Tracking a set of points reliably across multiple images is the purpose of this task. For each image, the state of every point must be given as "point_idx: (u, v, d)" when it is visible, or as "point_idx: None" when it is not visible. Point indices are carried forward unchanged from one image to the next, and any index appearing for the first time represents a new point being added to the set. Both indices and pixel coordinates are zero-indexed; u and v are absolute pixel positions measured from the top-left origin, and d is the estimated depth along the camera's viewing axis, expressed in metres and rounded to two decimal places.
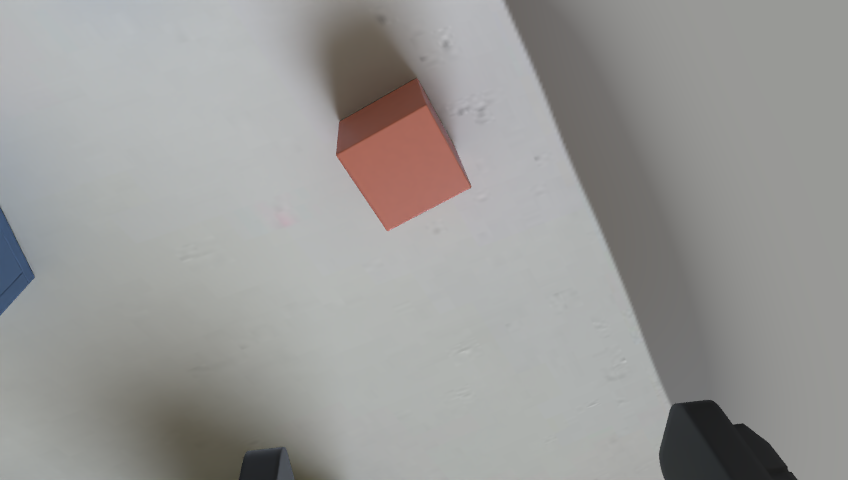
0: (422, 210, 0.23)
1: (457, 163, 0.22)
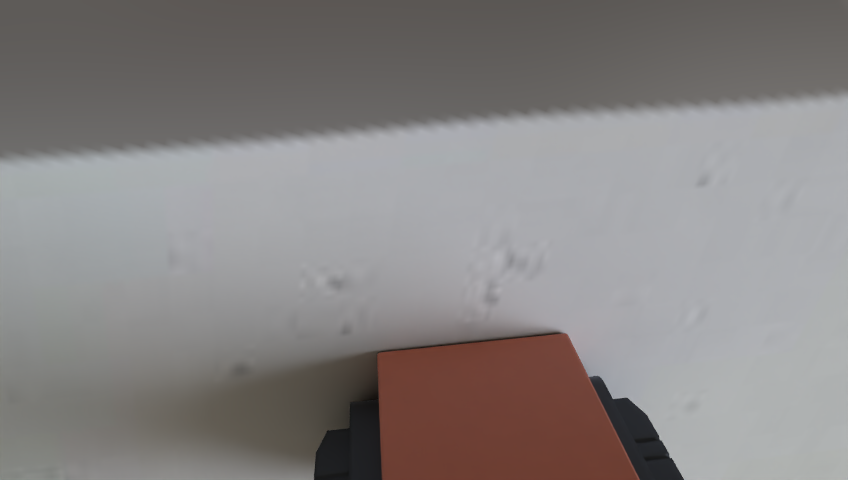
0: None
1: None
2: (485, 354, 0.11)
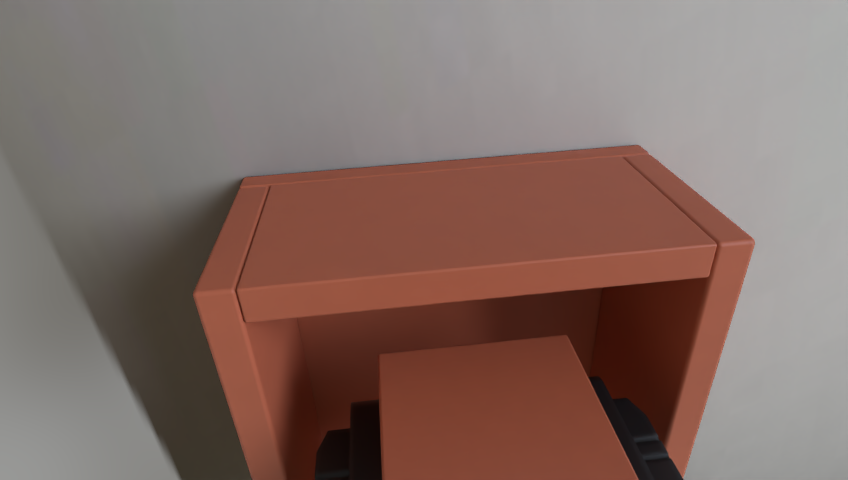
0: None
1: None
2: (485, 355, 0.11)
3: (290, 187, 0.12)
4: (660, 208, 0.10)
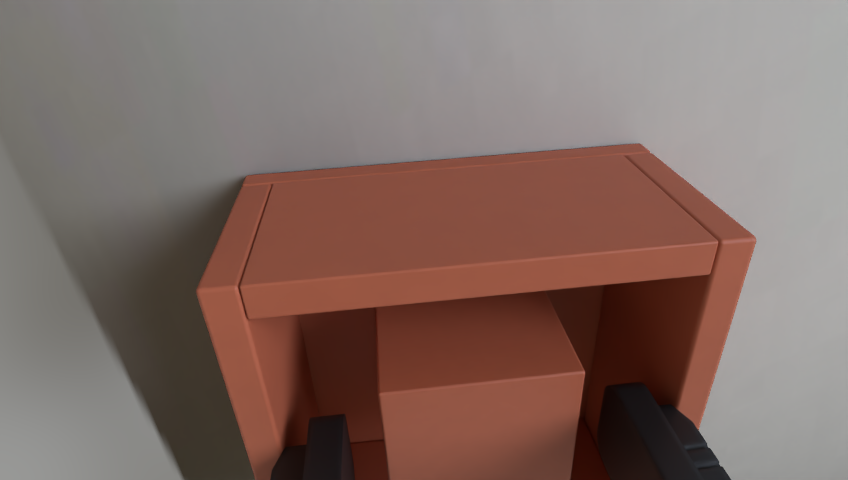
0: (569, 449, 0.12)
1: (521, 379, 0.10)
2: None
3: (293, 185, 0.12)
4: (662, 206, 0.10)
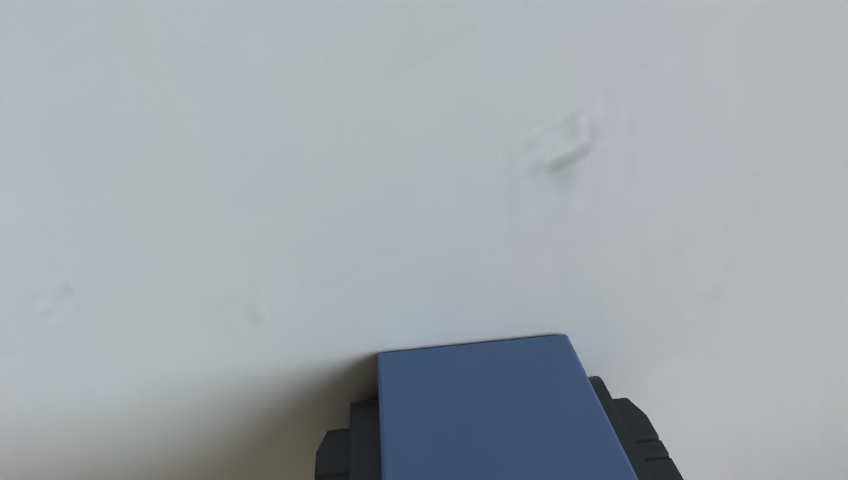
0: None
1: None
2: None
3: None
4: None
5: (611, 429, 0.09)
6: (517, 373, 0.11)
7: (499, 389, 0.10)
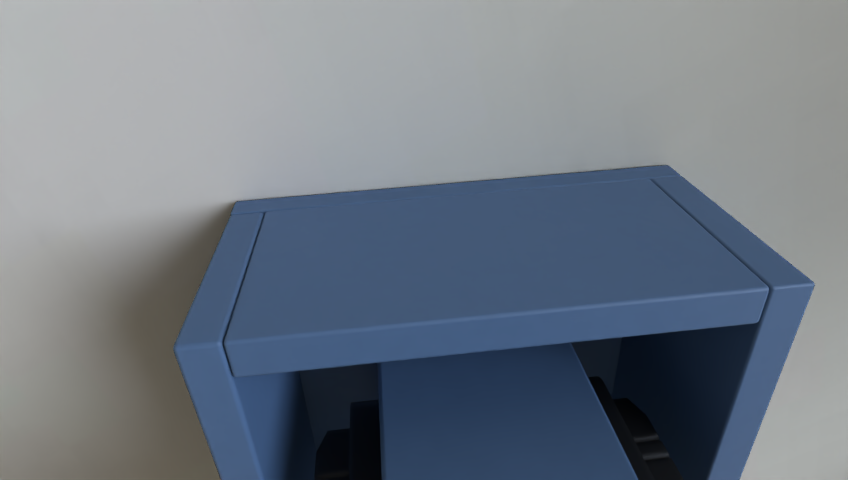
0: None
1: None
2: None
3: None
4: None
5: (611, 429, 0.09)
6: (517, 373, 0.11)
7: (498, 389, 0.10)
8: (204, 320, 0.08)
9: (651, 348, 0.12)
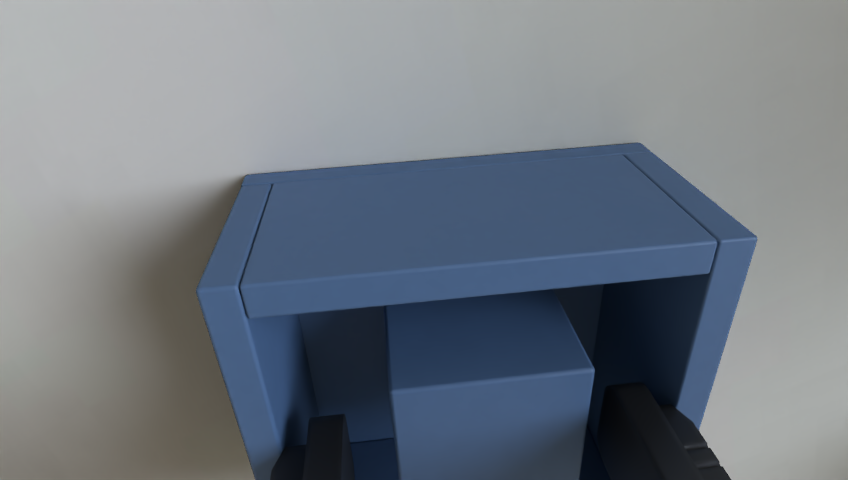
0: None
1: None
2: None
3: None
4: None
5: (568, 321, 0.12)
6: None
7: (480, 297, 0.13)
8: (222, 269, 0.09)
9: (625, 311, 0.13)
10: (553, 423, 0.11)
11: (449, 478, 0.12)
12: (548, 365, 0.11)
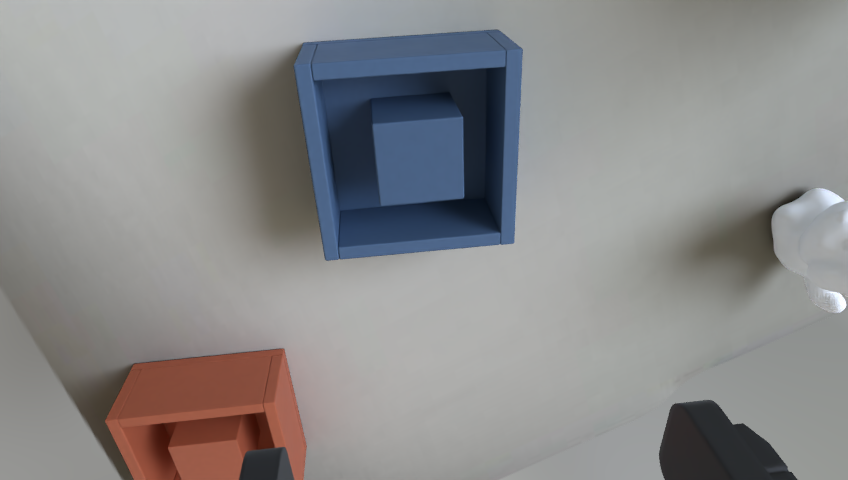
0: None
1: (215, 442, 0.32)
2: None
3: (148, 370, 0.34)
4: (259, 386, 0.32)
5: (456, 106, 0.25)
6: (426, 99, 0.26)
7: (417, 102, 0.26)
8: (302, 61, 0.23)
9: (491, 114, 0.27)
10: (447, 147, 0.24)
11: (400, 179, 0.25)
12: (442, 116, 0.24)
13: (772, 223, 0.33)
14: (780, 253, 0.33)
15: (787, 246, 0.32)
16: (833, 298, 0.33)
